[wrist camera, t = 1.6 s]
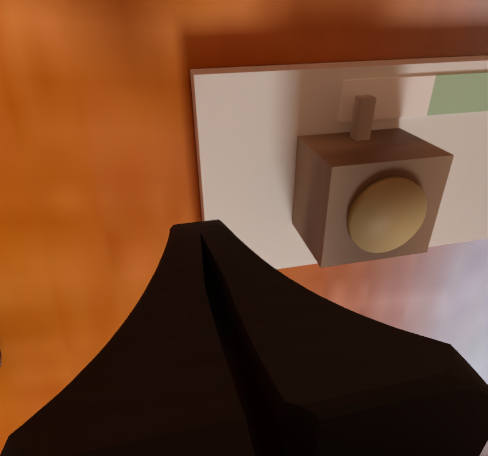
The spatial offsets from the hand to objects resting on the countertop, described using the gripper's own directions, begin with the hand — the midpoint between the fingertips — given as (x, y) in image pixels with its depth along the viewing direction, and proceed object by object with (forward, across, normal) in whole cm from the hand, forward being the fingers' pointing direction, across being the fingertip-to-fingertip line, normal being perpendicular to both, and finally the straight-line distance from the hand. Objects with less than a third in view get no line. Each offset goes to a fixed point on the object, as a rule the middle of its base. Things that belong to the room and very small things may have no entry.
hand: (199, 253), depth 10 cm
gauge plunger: (+4, -6, -1) cm, 7 cm away
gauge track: (+5, -8, 0) cm, 10 cm away
